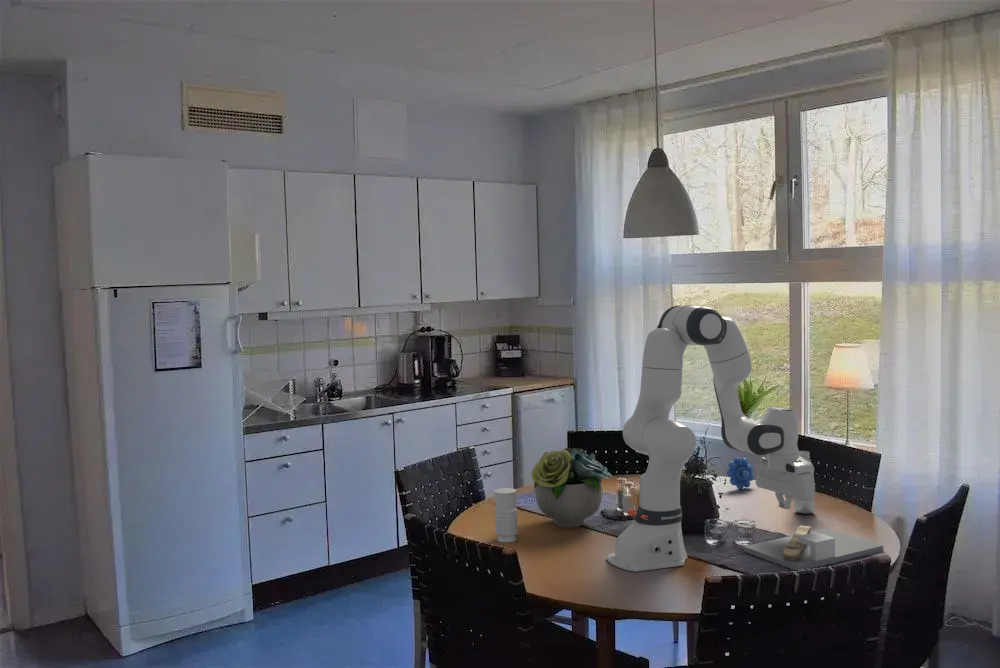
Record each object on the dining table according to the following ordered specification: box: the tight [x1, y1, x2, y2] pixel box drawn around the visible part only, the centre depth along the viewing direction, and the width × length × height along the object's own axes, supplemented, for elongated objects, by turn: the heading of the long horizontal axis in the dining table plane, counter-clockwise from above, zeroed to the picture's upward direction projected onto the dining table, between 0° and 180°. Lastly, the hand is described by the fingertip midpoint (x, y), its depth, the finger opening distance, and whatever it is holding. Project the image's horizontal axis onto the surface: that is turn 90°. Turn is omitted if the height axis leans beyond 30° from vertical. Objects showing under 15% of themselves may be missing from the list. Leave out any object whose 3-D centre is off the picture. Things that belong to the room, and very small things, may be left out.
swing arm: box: [783, 525, 812, 560], centre depth 235 cm, size 24×4×2 cm, turn 152°
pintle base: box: [743, 527, 884, 571], centre depth 236 cm, size 32×20×6 cm, turn 117°
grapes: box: [726, 456, 755, 490], centre depth 307 cm, size 12×7×12 cm, turn 113°
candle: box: [493, 487, 519, 543], centre depth 257 cm, size 7×7×15 cm
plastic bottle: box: [793, 450, 816, 515], centre depth 274 cm, size 6×7×20 cm
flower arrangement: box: [531, 447, 613, 529], centre depth 270 cm, size 25×25×24 cm
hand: (784, 508), depth 249 cm, fingers closed
